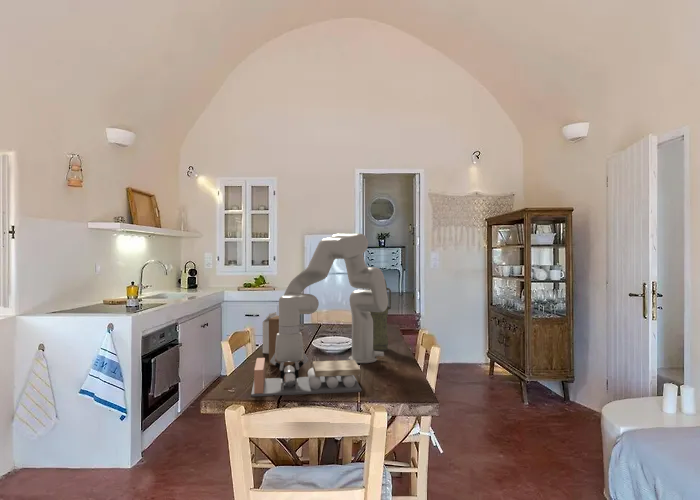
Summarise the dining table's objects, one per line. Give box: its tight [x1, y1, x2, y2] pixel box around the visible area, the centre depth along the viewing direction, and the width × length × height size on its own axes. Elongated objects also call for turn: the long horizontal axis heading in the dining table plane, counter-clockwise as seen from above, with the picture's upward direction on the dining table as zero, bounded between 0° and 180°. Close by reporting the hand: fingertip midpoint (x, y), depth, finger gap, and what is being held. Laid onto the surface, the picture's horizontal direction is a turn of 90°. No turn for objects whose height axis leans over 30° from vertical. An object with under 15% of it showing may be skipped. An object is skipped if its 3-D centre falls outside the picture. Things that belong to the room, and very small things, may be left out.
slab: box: [312, 359, 361, 377], centre depth 176 cm, size 16×14×2 cm
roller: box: [284, 365, 296, 387], centre depth 174 cm, size 4×14×4 cm, turn 8°
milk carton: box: [262, 312, 279, 355], centre depth 230 cm, size 7×7×19 cm
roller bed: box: [250, 357, 363, 397], centre depth 175 cm, size 38×19×9 cm, turn 98°
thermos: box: [367, 280, 392, 352], centre depth 238 cm, size 9×12×35 cm
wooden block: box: [268, 315, 295, 367], centre depth 209 cm, size 10×10×20 cm
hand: (289, 379), depth 174 cm, fingers closed on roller, 3 cm apart
